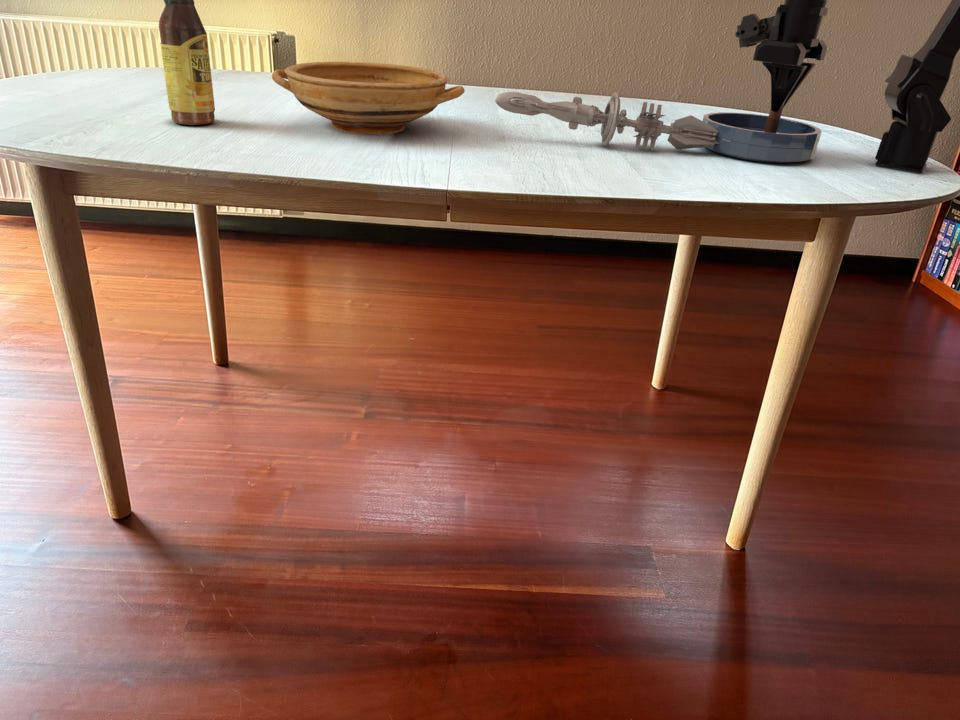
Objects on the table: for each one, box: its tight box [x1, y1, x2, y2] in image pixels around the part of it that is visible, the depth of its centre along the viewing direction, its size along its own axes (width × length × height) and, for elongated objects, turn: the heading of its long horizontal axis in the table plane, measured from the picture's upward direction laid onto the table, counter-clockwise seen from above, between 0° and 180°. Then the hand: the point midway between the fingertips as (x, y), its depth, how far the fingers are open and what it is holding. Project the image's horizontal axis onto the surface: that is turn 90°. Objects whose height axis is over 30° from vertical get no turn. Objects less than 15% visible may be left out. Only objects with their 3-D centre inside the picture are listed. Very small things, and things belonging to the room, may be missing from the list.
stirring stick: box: [764, 102, 785, 133], centre depth 107 cm, size 4×4×12 cm
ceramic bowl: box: [271, 61, 466, 135], centre depth 104 cm, size 30×24×8 cm
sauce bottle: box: [158, 0, 216, 126], centre depth 96 cm, size 7×6×20 cm
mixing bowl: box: [702, 111, 823, 164], centre depth 108 cm, size 18×18×4 cm
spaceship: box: [494, 91, 720, 152], centre depth 104 cm, size 8×35×8 cm
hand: (776, 110), depth 107 cm, fingers closed on stirring stick, 2 cm apart
